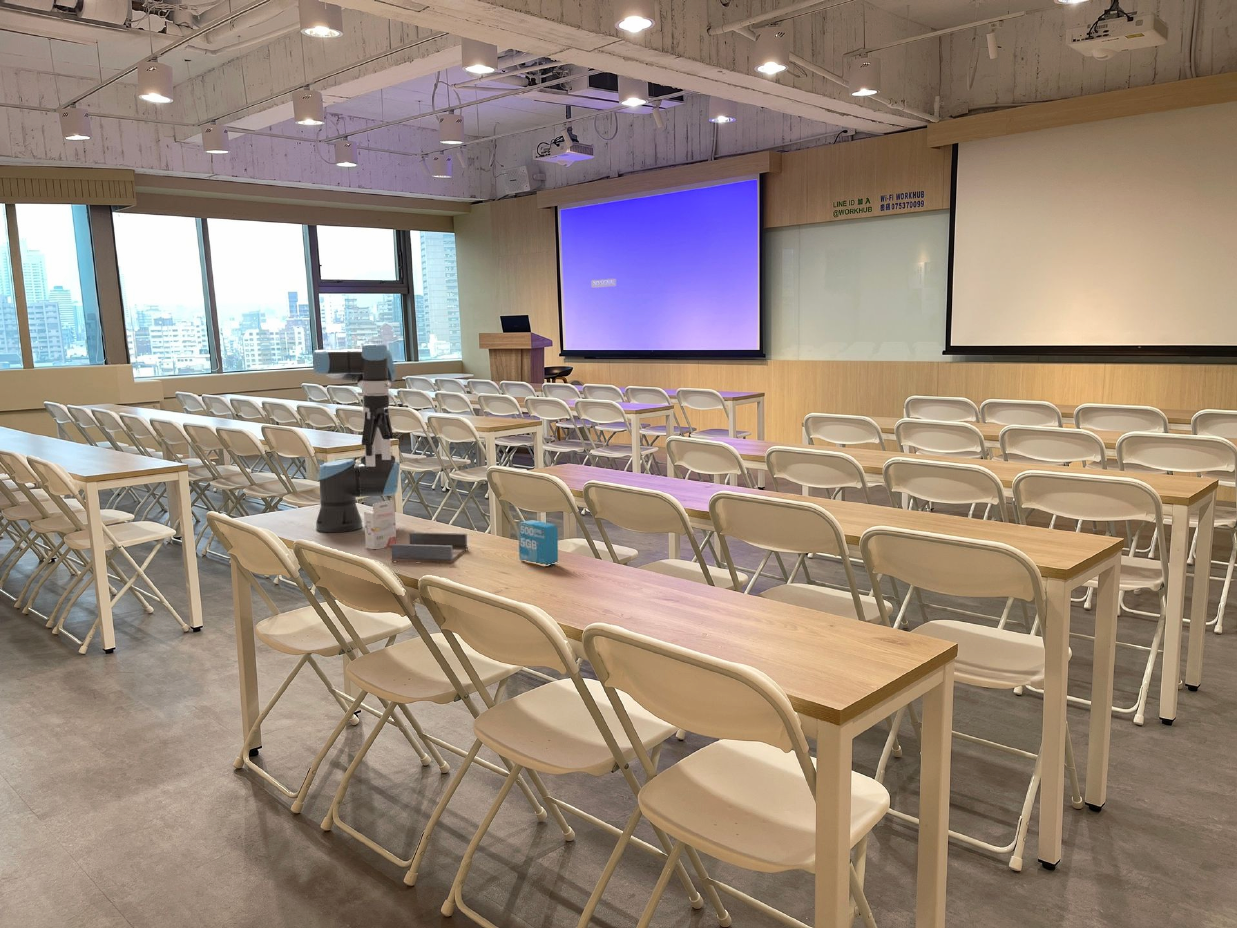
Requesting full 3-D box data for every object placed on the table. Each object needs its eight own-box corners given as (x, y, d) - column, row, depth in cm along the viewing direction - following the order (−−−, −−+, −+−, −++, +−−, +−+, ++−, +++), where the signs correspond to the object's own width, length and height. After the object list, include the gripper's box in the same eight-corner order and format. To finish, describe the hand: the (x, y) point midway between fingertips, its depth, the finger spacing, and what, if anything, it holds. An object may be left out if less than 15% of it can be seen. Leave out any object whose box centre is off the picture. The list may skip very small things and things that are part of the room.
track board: (411, 547, 280) (411, 531, 279) (467, 548, 278) (467, 533, 277) (391, 561, 262) (390, 545, 262) (450, 563, 260) (450, 547, 260)
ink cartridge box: (386, 542, 286) (385, 497, 284) (397, 545, 283) (395, 499, 281) (364, 548, 279) (362, 501, 277) (374, 550, 276) (373, 503, 274)
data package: (518, 561, 264) (518, 521, 262) (530, 558, 267) (529, 519, 265) (547, 568, 256) (546, 527, 254) (558, 565, 259) (558, 524, 258)
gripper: (373, 397, 261) (375, 469, 265) (401, 391, 286) (403, 457, 289) (348, 397, 262) (351, 468, 265) (379, 391, 287) (381, 456, 290)
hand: (378, 463), depth 277 cm, fingers open, 13 cm apart
